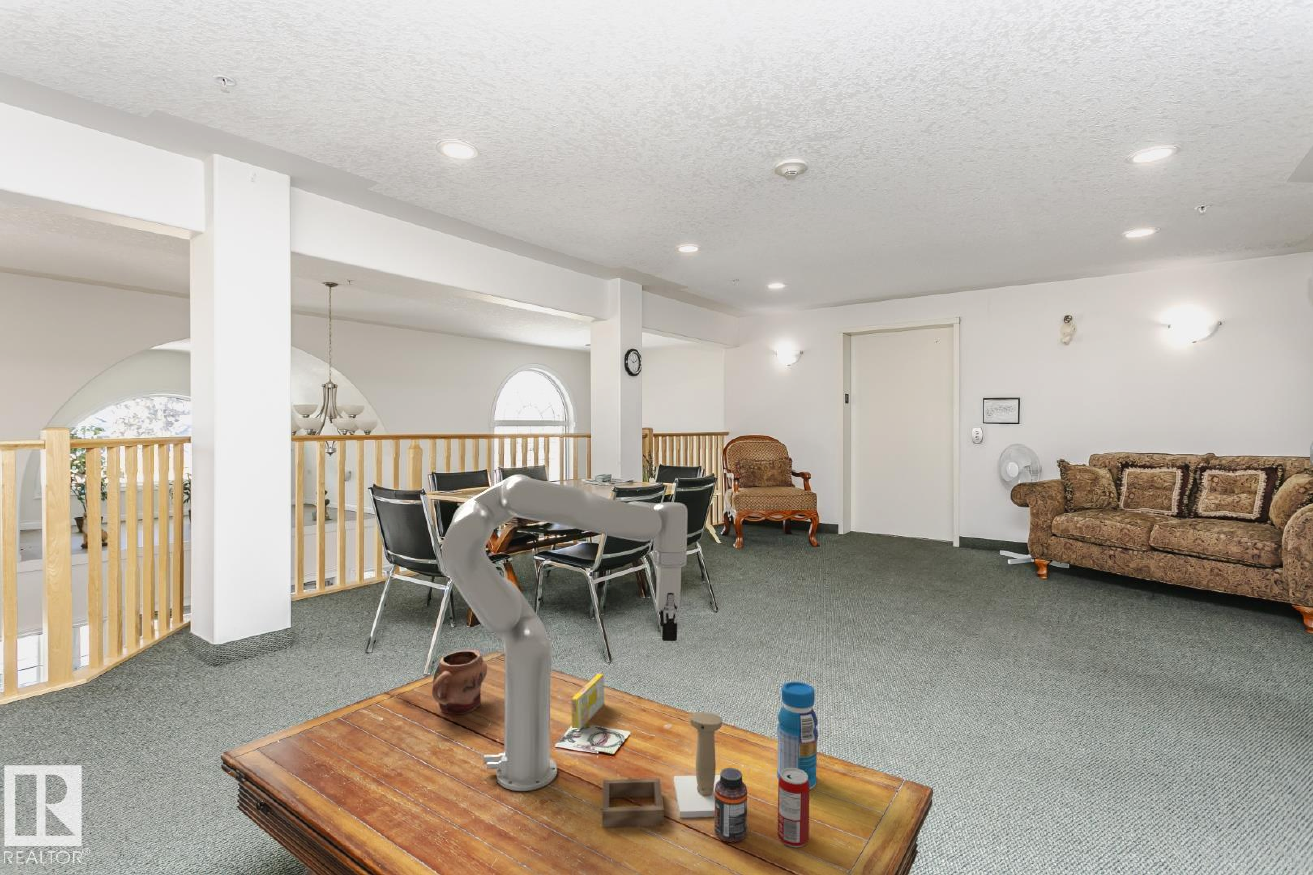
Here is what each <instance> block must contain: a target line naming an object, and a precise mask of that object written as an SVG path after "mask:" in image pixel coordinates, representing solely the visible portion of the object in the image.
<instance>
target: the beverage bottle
mask: <svg viewBox="0 0 1313 875" xmlns="http://www.w3.org/2000/svg"><path fill="white" fill-rule="evenodd" d="M815 694H816V691H815V688H814V687H813V686H812V685H811V684H808V683H805V682H801V681H790V682H785V683H784V684H783V685H782V687H781V701H782V704H783V705H782V706H781V708H780V710H779V712H778V716H777V720H778V724H777V727H776V734H777V767H776V768H777V771H776V778H777V780H778V782H779V777H780V774H781V771H782V770H783V769H785V768H797V769H800V770H803V771H804V772H805V773H806V774H807V775H808V780H809V784H810V790H812V789H814V787H815V786H816V785H817V781H818V780H817V778H818V777H817V765H818V764H817V759H818V740H819V731H818V729H817V726H818V724H819V722H818V721H819V720H818V716H817V714H816V712H815V710H814V709H813V707H814V705H815V701H816V700H815V696H816V695H815Z"/></svg>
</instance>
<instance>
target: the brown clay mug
mask: <svg viewBox="0 0 1313 875" xmlns="http://www.w3.org/2000/svg"><path fill="white" fill-rule="evenodd" d="M487 672H488V665H487V663H486V661H485V660H484V659H483V656H482V654H481V652H480V651H478V650H475V649H474V650H473V649H471V650H470V649H469V650H468V649H467V650H458V651H455V652H451V653H449V654H446V655H444V656H442V657H441V659H440V660H439V662H438V665H437V668H436V670H435V672H434V674H433V679H432V683H433V684H432V690H431V691H432V692H431V693H432V694H431V696H432V697H433V699H434V701H435V702H437V703H438V705H439V706H438V707H439V709H440V711H441V712H442V713H445V714H448V715H463V714H467V713H470V712H472V711H474V710H475V709H477V708H478V707H479V706H480V705H481V702H482V701H481V700H482V699H481V692H482V691H481V690H482V684H483V682H484V680H485V678H486V676H487V675H488V674H487Z"/></svg>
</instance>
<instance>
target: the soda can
mask: <svg viewBox="0 0 1313 875" xmlns="http://www.w3.org/2000/svg"><path fill="white" fill-rule="evenodd" d="M777 789H778V790H777V791H778V792H777V794H778V795H777V838H779V840H780V841H781V843H783V844H784V845H786V846H788V847H791V848H801V847H803V846H804V845H806V844H807V843H808V841H809V839H810V838H809V835H810V834H809V833H810V832H809V831H810V790H811V789H810V784H809V780H808V775H807V774H806V773H805V772H804V771H803V770H800V769H797V768H785V769H783V770H782V771H781V774H780V777H779V781H778V788H777Z"/></svg>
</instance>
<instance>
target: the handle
mask: <svg viewBox="0 0 1313 875" xmlns="http://www.w3.org/2000/svg"><path fill="white" fill-rule="evenodd" d="M689 723H690V726H692V727H693V728H694V729H696V730H697V731H696V732H697V740H696V741H697V742H696V743H697V744H696V752H695V753H696V756H695V776H696V779H697V784H698V785H697V791H698V792H699V793H701V794H702V795H703V796H705V795H711V794H712V792H713V790H714V781H715V775H716V772H717V770H716V768H717V765H716V764H717V763H716V747H715V746H716V744H715V743H716V742H715V733H716V732H715V731H718V730H720V729H721V728H722V726H723V718H722V716H720V715H717V714H715V713H711V712H706V711H704V712H703V711H702V712H701V711H698V712H696V711H695V712H694V713H691V715H690V717H689Z"/></svg>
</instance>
